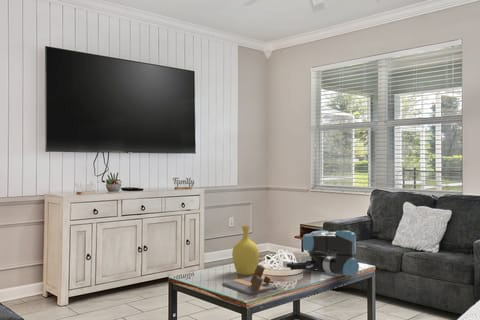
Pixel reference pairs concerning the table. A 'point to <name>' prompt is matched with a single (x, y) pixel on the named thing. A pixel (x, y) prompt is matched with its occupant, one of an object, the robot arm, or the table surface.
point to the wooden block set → (258, 278)
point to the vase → (245, 254)
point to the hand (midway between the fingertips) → (292, 261)
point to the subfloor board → (247, 286)
